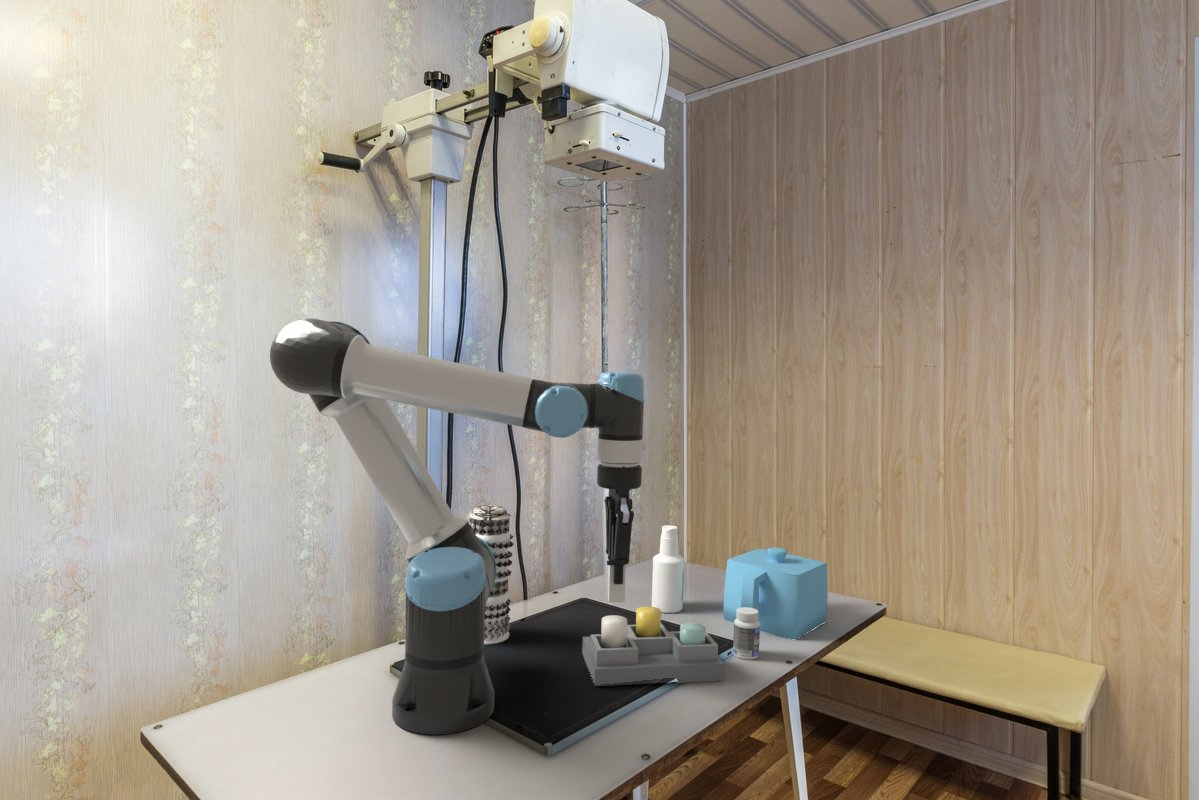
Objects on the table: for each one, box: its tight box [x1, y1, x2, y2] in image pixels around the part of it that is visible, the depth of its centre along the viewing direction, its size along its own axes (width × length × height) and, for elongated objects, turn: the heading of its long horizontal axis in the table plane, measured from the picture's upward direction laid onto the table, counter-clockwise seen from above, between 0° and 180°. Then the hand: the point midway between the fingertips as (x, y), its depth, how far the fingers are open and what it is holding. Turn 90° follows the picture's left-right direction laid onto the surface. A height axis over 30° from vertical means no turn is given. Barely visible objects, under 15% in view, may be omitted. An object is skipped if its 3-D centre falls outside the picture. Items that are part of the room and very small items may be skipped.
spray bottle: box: [651, 524, 685, 614], centre depth 156 cm, size 7×7×18 cm
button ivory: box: [600, 614, 628, 648], centre depth 123 cm, size 4×4×4 cm
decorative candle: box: [467, 504, 514, 645], centre depth 138 cm, size 9×9×25 cm
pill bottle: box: [732, 607, 761, 660], centre depth 132 cm, size 5×5×8 cm
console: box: [581, 623, 725, 685], centre depth 126 cm, size 22×14×6 cm, turn 100°
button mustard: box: [635, 605, 662, 637], centre depth 128 cm, size 4×4×4 cm
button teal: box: [679, 622, 707, 645], centre depth 125 cm, size 4×4×4 cm
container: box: [722, 547, 829, 641], centre depth 151 cm, size 17×25×15 cm
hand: (616, 600), depth 122 cm, fingers closed
